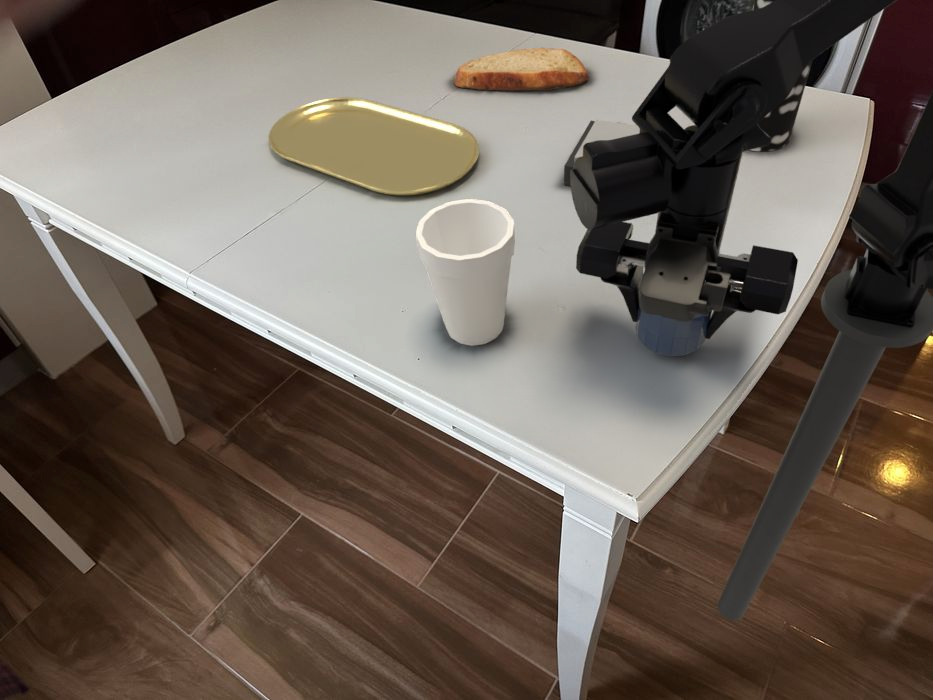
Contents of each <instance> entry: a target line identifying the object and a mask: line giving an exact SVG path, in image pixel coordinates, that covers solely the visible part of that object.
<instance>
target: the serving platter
mask: <svg viewBox="0 0 933 700" xmlns="http://www.w3.org/2000/svg"><path fill="white" fill-rule="evenodd" d="M268 144H269V147H270V148H271V150H272V151H273V152H274V153H276V154H277V155H278V156H279V157H281V158H283V159H285V160H287V161H289V162H292V163H295V164H298V165H301V166H303V167H306V168H309V169H312V170H315V171H317V172H319V173H323V174H326V175H329V176H330V177H331V176H332V177H334V178H337V179H339V180H342V181H346V182H347V183H351V184H353V185H356V186H360V187H362V188H365V189H368V190H370V191H373V192H376V193H380V194H384V195H390V196H418V195H423V194H429V193H432V192H435V191H438V190H439V191H440V190H442V189H444V188H447V187H448V186H450V185H453V184H455V183H457V182H458V181H459V180H460V179H462V178H463V177H464V176H466V175H467V174H468V173H469V172H470V171H471V170H472V169H473V167H474V166H475V164H476V162H477V160H478V158H479V155H480V146H479V142H478V140H477V138H476V137H475V136H474V134H473V133H472V132H471V131H470V130H468V129H466V128H465V127H463V126H460V125H458V124H456V123H452V122H449V121H445V120H442V119H439V118H435V117H431V116H427V115H423V114H420V113H417V112H413V111H410V110H406V109H402V108H400V107H396V106H392V105H388V104H386V103H381V102H378V101H374V100H371V99H367V98H361V97H360V98H359V97H350V96H349V97H346V96H345V97H331V98H326V99H321V100H316V101H312V102H309V103H307V104H306V103H305V104H303V105H301V106H299V107H297V108H294V109H293V110H292V109H291V111H289V112H287V113H285V114H284V115H282V116H281V117H280V118H279V119H278V120H277V121H276V122H275V123H274V124H273V125H272V127H271V128H270V130H269V133H268Z"/></svg>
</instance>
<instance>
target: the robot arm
mask: <svg viewBox="0 0 933 700" xmlns="http://www.w3.org/2000/svg"><path fill="white" fill-rule="evenodd" d="M895 2H897V0H775V1H773V2H772V3H770V4H768V5H766V6H764V7H762V8H759V9H755V10H753V9H751V10H749V11H748V10H747V11H744V12H739V13H735V14H732V15H728V16H726V17H724V18H722V19H720V20H718V21H717V22H715V23H713V24H712V25H710V26H708V27H706V28H705V29H703V30H701V31H698V32H697V33H695V34H693V35H692V36H690V37H689V38H687V39H685V41H683V42H682V43H681V44H680V45H679V46H678V47H677V48H676V49H675V50H674V52H673V53H672V54H671V56H670V57H669V64H668V67H667V68H666V70H664V72H663V74H662V75H661V76H660V77H659V79H658V80H657V81H656V83H655V84H654V86H653V87H652V89H651V90H650V91H649V92H648V94H647V95H646V96H645V98H644V99H643V101H642V102H641V103H640V105H639V106H638V108H637V109H636V110H635V112H634V113H633V114H632V116H631V122H633V123H634V125H637V126H638V127H639V128H640V132H639V134H635V135H630V136H626V137H622V138H617V139H613V140H598V141H593V142H589V143H586V144H585V145H584V146H583V156H582V157H578V158H577V159H576V161H575V163H574V167H573V169H572V170H571V171H570V185H571V186H570V191H571V192H570V193H571V197H572V198H571V199H572V202H573V205H574V209H575V212H576V215H577V217H578V219H579V221H580V224H582V225H583V227H584V228H585V229H586V231H585V233H584V235H583V237H582V239H581V241H580V243H579V245H578V249H577V252H576V259H575V260H576V261H575V262H576V265H575V269H576V270H577V271H578V273H579V274H581V275H586V276H591V277H596V278H600V280H601V282H603V283H605V284H609V285H613V286H615V287H617V289H618V290H619V292H620V294H621V295H622V297H623V300H624V302H625V305H626V307H627V310H628V313H629V316H630V318H631V321H632V322H634V323H636V321H637V314H638V306H639V305H640V309H641V310H642V311H643V312H644V313H646V314H650V315H659V316H663V317H668V318H672V319H675V320H677V321H681V322H688V321H691V320H692V319H694V318H695V316H696V314H700V315H705V316H708V314H709V311H711V310H712V313H711V317H710V321H709V325H708V328H707V332H706V337H705V339H708V340H709V339H711V338H712V336H713V335H714V334H715V333H716V332H717V331H718V330H719V329H720V327H721V326H722V325H723V324H724V323H725V322H726V321H727V320H728V319H729V318H731V316H733V315H734V314H735V313H737V312H739V313H740V312H741V313H748V314H752V313H754V312H755V311H759V312H764V313H768V314H772V315H773V314H774V315H781V314H783V313H786V312H787V310H788V306H789V303H790V301H791V297H792V294H793V290H794V287H795V286H794V285H795V280H796V273H797V267H798V263H799V259H798V258H797V257H796V254H795V253H794V252H793V251H787V250H781V249H776V248H771V247H765V246H759V245H754V244H753V245H752V248H751V251H750V254H749V253H740V254H738V255H736V256H733V255H729V254H722V253H720V251H721V247H722V243H723V239H724V234H725V229H726V225H727V221H728V218H729V213H730V210H731V205H732V200H733V195H734V191H735V187H736V182H737V180H738V179H737V178H738V174H739V170H740V165H741V162H742V158H743V154H744V152H746V151H752V150H751V149H755V148H760V147H764V146H767V145H769V144H770V143H771V137H770V136H768V135H767V134H766V133H765V132H764V131H763V130H761V128H760V127H759V125H758V124H757V123H758V122H759V121H761V120H762V119H763V118H764V117H765V116H766V115H767V114H769V113H770V112H771V111H772V110H773V109H774V108H775V107H777V106H778V105H779V104H780V103H781V102H782V101H784V100H785V99H786V98H787V97H788V96H789V94H790V92H791V90H792V88H793V87H794V85H795V83H796V81H797V79H798V77H799V75H800V73H801V72H802V70H803V68H804V67H805V66H806V65H808V64H809V63H810V62H811V61H812V60H815V59H816V58H817V57H818V56H820V55H821V54H822V53H824V52H825V51H826V50H828V49H830V48H831V47H832V46H834V45H836V44H837V43H838V42H839V41H841V40H843V39H844V38H845V37H846V36H848V35H850V34H851V33H852V32H854V31H855V30H857V29H858V28H860V27H861V26H863V25H864V24H865V23H866V22H869V20H871V19H872V18H874V17H875V16H876V15H878V14H879V13H881V12H882V11H883V10H885V9H886V8H888V7H889V6H891V5H892V4H894V3H895ZM812 62H813V61H812ZM674 108H677V109H678V110H679V111H681V113H682V114H684V115H685V116H686V117H687V119H688V120H690V121H691V122H692V123H693V124H692V125H689V126H686V127H685V128H684V127H683V126H682V125H680V124H679V123H678V122H677V121H676V120H675V119H674V118H673V117H672V116H671V115H670V113H669V112H671V111H672V110H673V109H674ZM656 214H657V218H656V223H655V232H654V234H653V236H652V238H651V239H650V241H649V242H645V241H640V240H634V239H631V238H632V236H633V234H634V233H633V232H634V224H633V223H632V222H631V223H630V222H627V221H631V220H636V219H640V218H644V217H648V216H653V215H656ZM848 217H849V218H850V219H851V220H852V222H851V229H852V230H853V232H854V234H855V236H856V237H855V241H856V242H857V243H858V244H860V245H862V246H863V247H864V248H866V250H865V253H864V255H863V256H860V255H859V256H858V257H856V259H855V261H854V264H853V265H852V268H851V270H852V271H851V273H850V276H849V278H848V280H847V283H846V289H845V298H846V299H847V300H848V304H847V314H848V315H851V316H855V317H860V318H865V319H870V320H875V321H880V322H885V323H889V324H894V325H899V326H904V327H910V328H911V327H913V326H914V324H915V311H916V309H917V307H918V306H919V304H920V302H921V300H922V298H923V296H924V295H925V293H926V291H928V289H930V290H933V90H932V91H931V93H930V96H929V98H928V100H927V101H926V104H925V107H924V109H923V112H922V113H921V116H920V118H919V120H918V121H917V125H916V127H915V129H914V131H913V134H912V136H911V138H910V140H909V142H908V145H907V146H906V149H905V151H904V153H903V155H902V158H901V160H900V162H899V164H898V167H897V168H896V169H895V171H893V172H892V173H890V174H889V175H887V176H886V177H883V178H882V179H880V180H879V181H878V182H876V183H869V184H866V185H864V187H862V188H861V189H860V193H859V198H858V200H857V203H856V205H855V207H854V208H853V210H852V211H851V213H850V214H849V215H848ZM639 298H640V301H639ZM852 311H853V312H852Z"/></svg>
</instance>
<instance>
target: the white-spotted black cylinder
mask: <svg viewBox="0 0 933 700" xmlns="http://www.w3.org/2000/svg"><path fill="white" fill-rule="evenodd" d="M773 1H775V0H754V1H753V6H752V10H755V9H759V8H762V7H764V6H766V5H768V4H770V3H772V2H773ZM813 60H814V59H813ZM813 60H812V61H811V62H810V63H809V64H808V65H806V66H805V67H804V68H803V70H802V72H801V73H800V75H799V77H798V79H797V81H796V83H795V85H794V87H793V88H792V90H791V92H790V94H789V96H788V97H787V98H786V99H785V100H784V101H782V102H781V103H780V104H779V105H778V106H777V107H775V108H774V109H773V110H772V111H771V112H770V113H769V114H767V115H766V116H765V117H764V118H763V119H762V120H761V121H759V122H758V123H757V124H758V125H759V127H760V128H761V130H763V131H764V132H765V133H766V134H767V135H768V136H770V137H771V143H770V144H769V145H767V146H764V147H760V148H755V149H751V150H750V151H753V152H773V151H776V150H779V149H782V148H784V147H785V146H787V145H788V143H789V142H790V141H791V138H792V133H793V131H794V126H795V123H796V119H797V116H798V112H799V110H800V106H801V102H802V99H803V95H804V92H805V88H806V86H807V81H808V78H809V74H810V71H811V67H812V64H813V62H814V61H813Z"/></svg>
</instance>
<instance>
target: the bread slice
mask: <svg viewBox="0 0 933 700" xmlns="http://www.w3.org/2000/svg"><path fill="white" fill-rule="evenodd" d="M453 79H454V80H453V83H454V85H455V86H456V87H458V88H460V89H461V88H462V89H465V88H466V89H467V88H468V89H471V90H473V89H474V90H478V91H481V90H482V91H483V90H485V91H511V92H513V91H524V92H525V91H536V92H537V91H541V90H549V91H552V90H554V89H561V88H562V89H563V88H571V87H576V86H579V85H582V84H583V83H586V82H588V81H590V75H589V74H588V71H587V69H586V67H585V65H584V64H583V62H582V61H581V60H580V59H579V58H578V57H577V56H575V55H574V54H573V53H572V52H570V51H569V50H567V49H565V48H547V47H539V48H538V47H534V48H521V49H520V48H519V49H513V50H510V51H507V52H500V53H494V54H490V55H484V56H481V57H478V58H476V59H472V60H470V61H467V62H465V63H464V64H462V65H460V66H459V67H458V68H457V71H456V73H455V75H454V78H453Z"/></svg>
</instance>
